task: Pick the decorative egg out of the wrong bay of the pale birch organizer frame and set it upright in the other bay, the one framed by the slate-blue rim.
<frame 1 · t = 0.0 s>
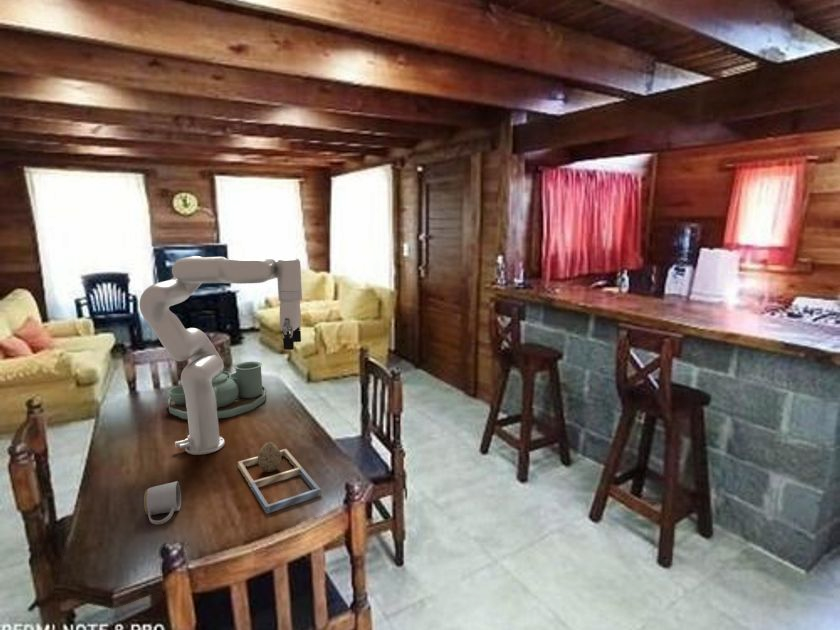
hand: (292, 345, 162), 37 cm above the table, tool pointing down, fingers open, 9 cm apart
ceramic mug: (164, 514, 132), on the table
decorative egg: (270, 471, 154), resting in organizer frame
tea set: (218, 403, 210), on the table
organizer frame: (277, 480, 148), on the table
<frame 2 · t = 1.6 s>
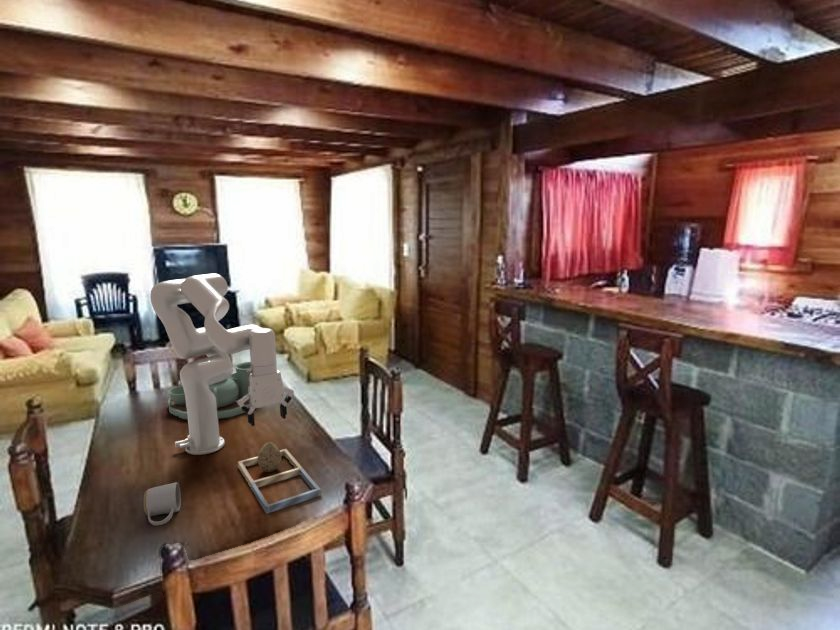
hand: (268, 420, 150), 17 cm above the table, tool pointing down, fingers open, 9 cm apart
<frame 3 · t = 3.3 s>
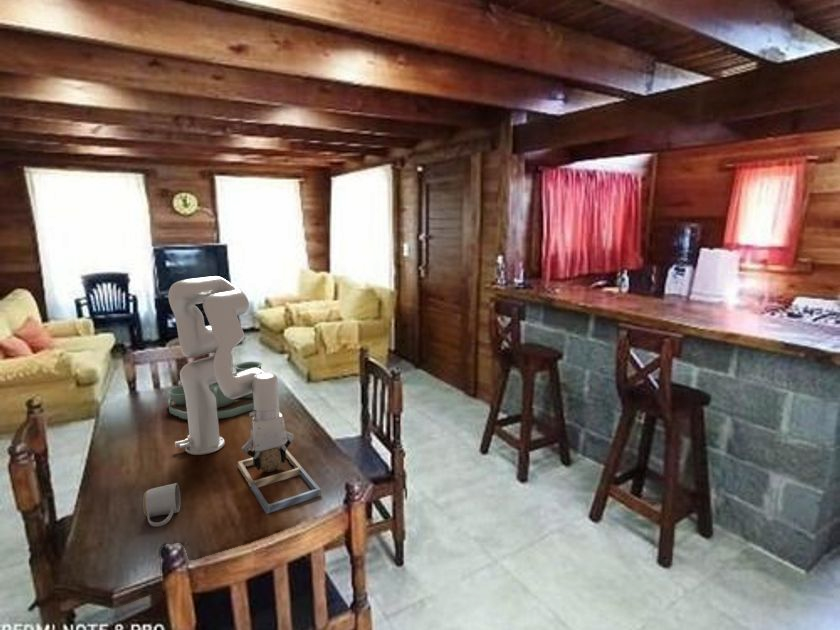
hand: (270, 464, 153), 2 cm above the table, tool pointing down, fingers closed on decorative egg, 7 cm apart
decorative egg: (270, 471, 154), resting in organizer frame, touching gripper
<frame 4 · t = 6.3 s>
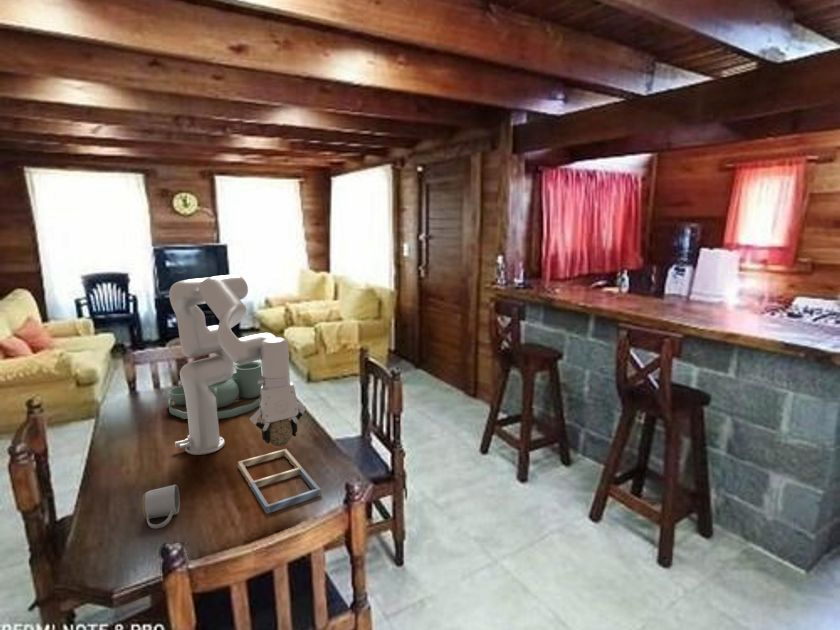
hand: (280, 437, 141), 16 cm above the table, tool pointing down, fingers closed on decorative egg, 7 cm apart
decorative egg: (280, 445, 141), point 14 cm above the table, touching gripper
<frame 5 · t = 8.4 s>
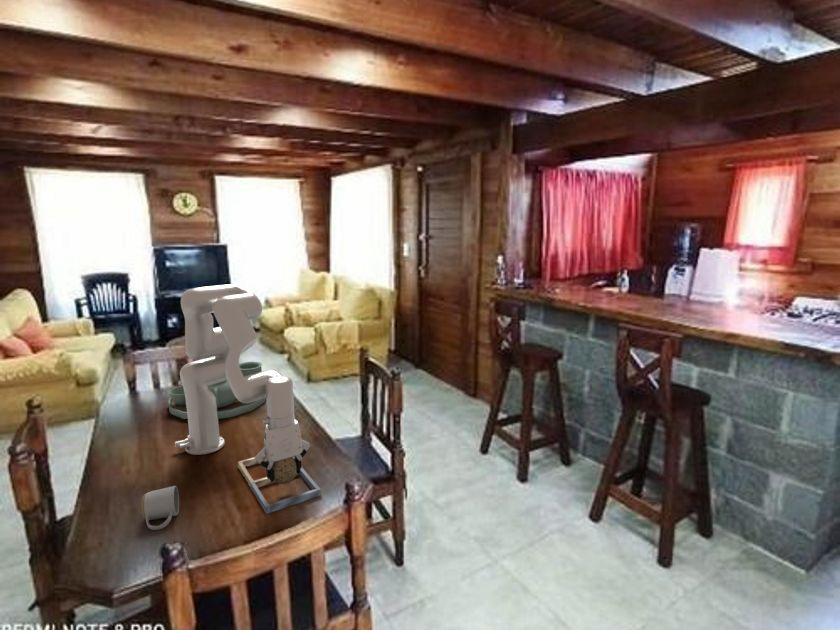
hand: (284, 475, 141), 5 cm above the table, tool pointing down, fingers closed on decorative egg, 7 cm apart
decorative egg: (284, 483, 142), point 3 cm above the table, touching gripper
when the fingers open (4 cm above the table, at t = 9.4 s): decorative egg drops 1 cm, resting in organizer frame.
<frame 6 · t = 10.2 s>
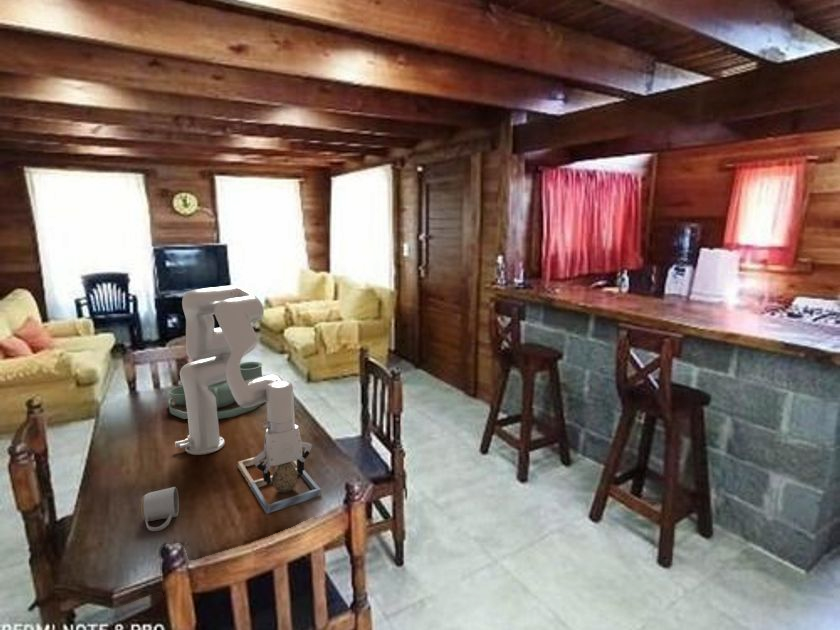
hand: (284, 477, 141), 4 cm above the table, tool pointing down, fingers open, 9 cm apart
decorative egg: (285, 491, 143), resting in organizer frame
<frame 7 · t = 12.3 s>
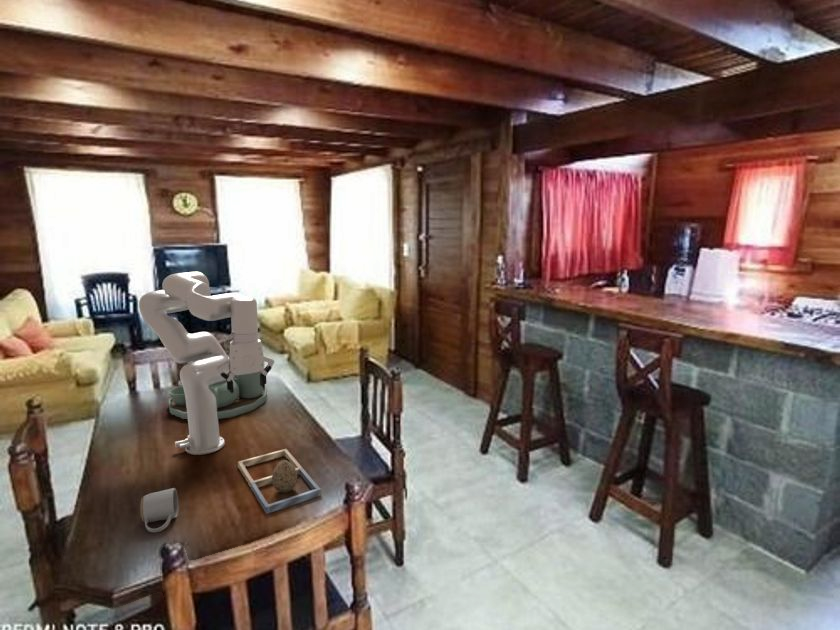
hand: (247, 388, 152), 26 cm above the table, tool pointing down, fingers open, 9 cm apart
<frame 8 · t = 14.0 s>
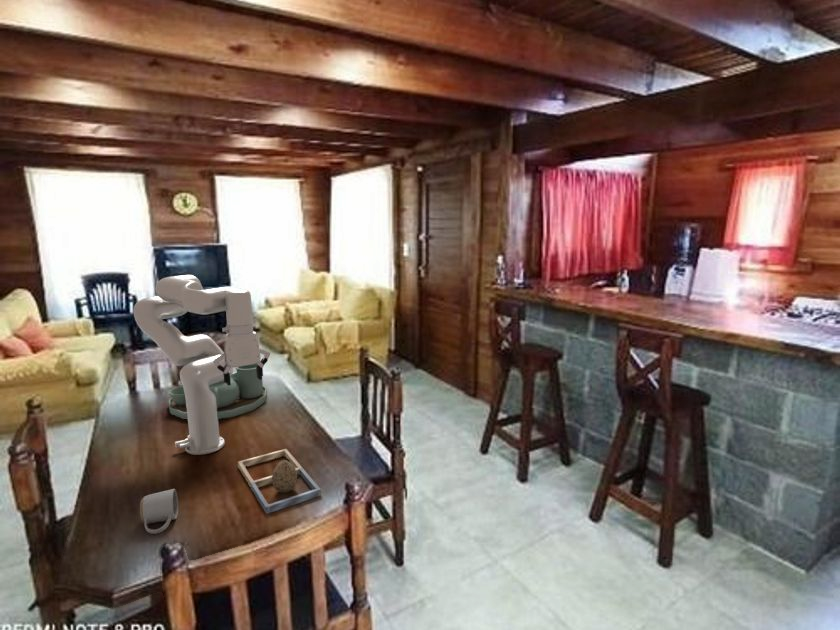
hand: (244, 381, 153), 28 cm above the table, tool pointing down, fingers open, 9 cm apart
at the end: decorative egg inside the target area on the organizer frame (0.3 cm from its centre), point 0.0 cm above the organizer frame's base; decorative egg tilted 0°; the gripper is holding nothing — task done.
